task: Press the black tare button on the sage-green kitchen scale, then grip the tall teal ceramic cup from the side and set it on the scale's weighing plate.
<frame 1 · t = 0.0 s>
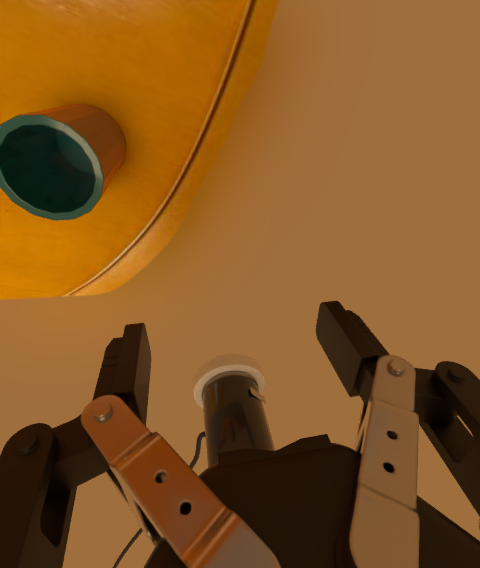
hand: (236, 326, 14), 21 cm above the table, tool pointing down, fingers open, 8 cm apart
cup: (90, 143, 27), on the table
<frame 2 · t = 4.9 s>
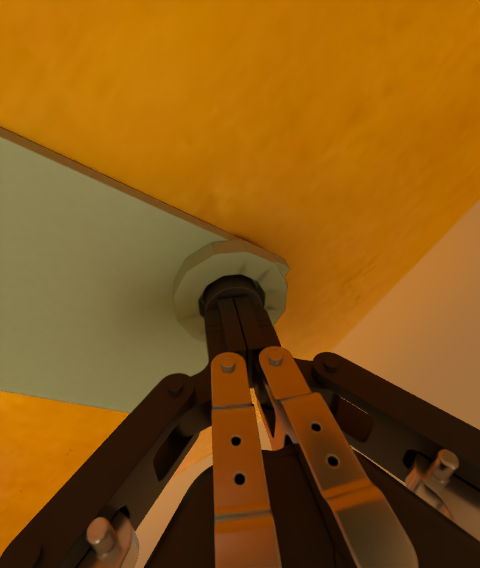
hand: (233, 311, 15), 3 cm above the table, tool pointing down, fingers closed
tare button: (232, 302, 16), point 2 cm above the table, slide at -0.4 cm, touching gripper
scale: (119, 312, 18), on the table
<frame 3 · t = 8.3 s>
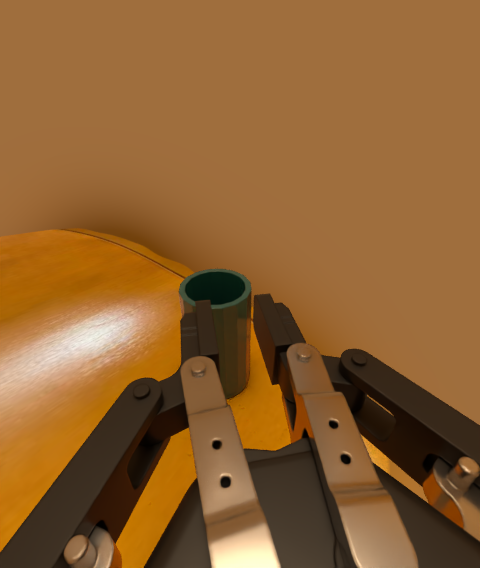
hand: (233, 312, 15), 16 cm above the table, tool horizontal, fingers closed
cup: (220, 375, 32), on the table
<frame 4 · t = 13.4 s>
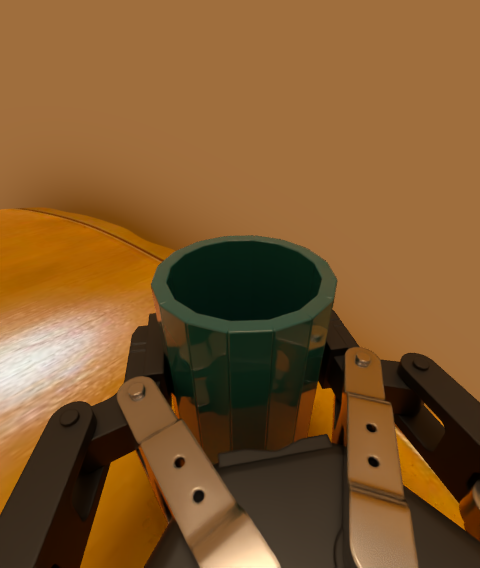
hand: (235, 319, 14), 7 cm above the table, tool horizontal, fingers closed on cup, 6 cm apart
cup: (243, 450, 16), on the table, touching gripper
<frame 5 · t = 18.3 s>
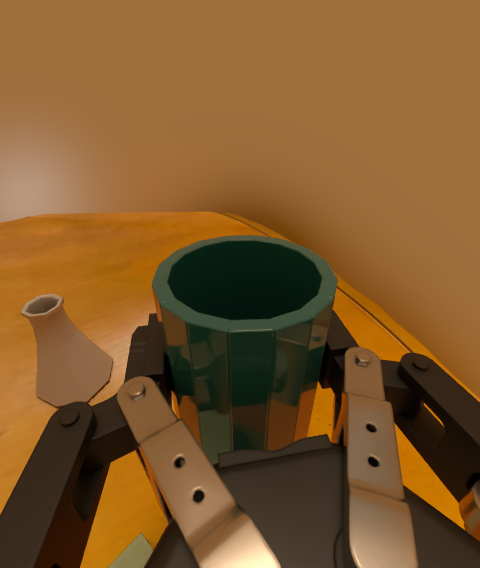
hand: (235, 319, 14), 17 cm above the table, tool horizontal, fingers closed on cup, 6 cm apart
flask: (78, 379, 33), on the table
cup: (243, 450, 16), point 10 cm above the table, touching gripper
when the fingers open (8 cm above the table, at t = 23.4 s): cup stays where it is, resting on scale.
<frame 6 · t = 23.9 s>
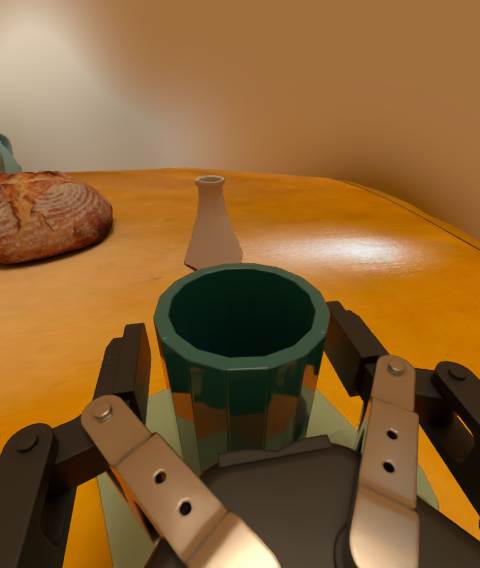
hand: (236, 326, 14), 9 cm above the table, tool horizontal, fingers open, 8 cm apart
flask: (214, 260, 39), on the table
bread: (55, 237, 45), on the table
scale: (242, 475, 17), on the table
cup: (241, 466, 17), point 1 cm above the table, touching scale
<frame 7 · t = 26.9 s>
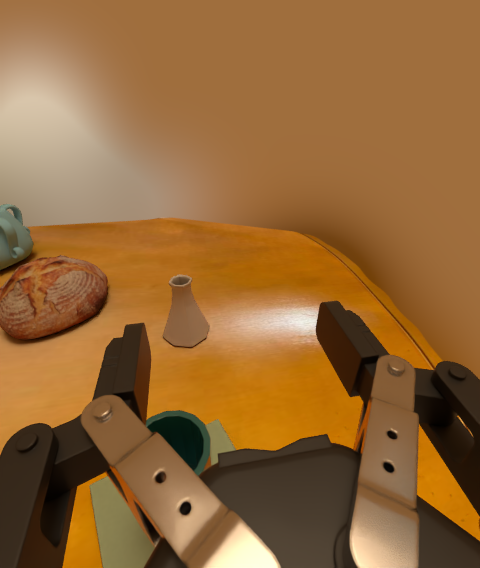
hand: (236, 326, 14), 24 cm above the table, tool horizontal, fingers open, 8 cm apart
flask: (187, 333, 50), on the table
bread: (61, 307, 56), on the table
scale: (185, 520, 28), on the table
cup: (183, 515, 28), point 1 cm above the table, touching scale
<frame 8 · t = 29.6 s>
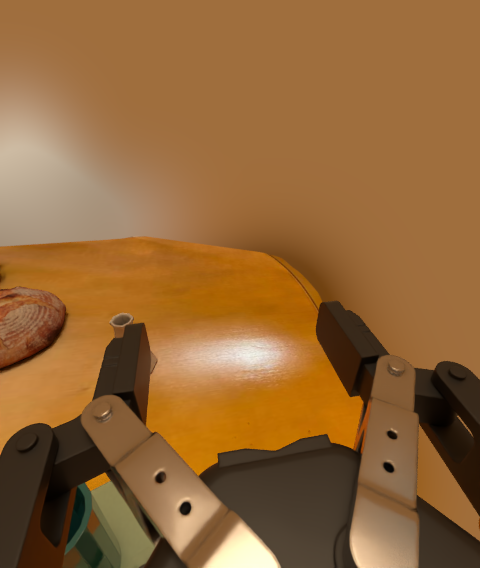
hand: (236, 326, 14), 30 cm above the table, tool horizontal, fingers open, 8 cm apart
flask: (134, 367, 51), on the table
bread: (17, 338, 57), on the table
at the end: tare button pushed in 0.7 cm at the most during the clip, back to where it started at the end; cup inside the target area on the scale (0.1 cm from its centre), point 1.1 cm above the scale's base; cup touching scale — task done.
